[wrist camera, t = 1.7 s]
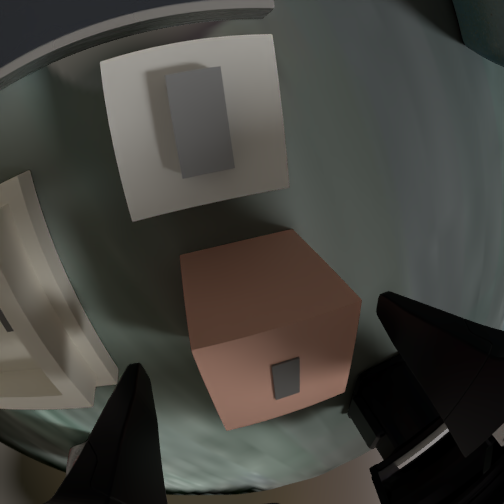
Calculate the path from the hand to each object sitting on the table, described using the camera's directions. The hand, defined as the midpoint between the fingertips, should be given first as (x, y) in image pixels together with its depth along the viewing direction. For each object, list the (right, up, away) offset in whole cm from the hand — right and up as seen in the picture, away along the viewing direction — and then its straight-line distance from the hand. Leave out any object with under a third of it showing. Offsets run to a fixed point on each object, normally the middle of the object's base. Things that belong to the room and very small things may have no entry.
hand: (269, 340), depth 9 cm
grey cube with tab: (-3, +7, -1) cm, 8 cm away
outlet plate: (-13, 0, -1) cm, 13 cm away
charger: (-1, +1, +3) cm, 3 cm away
